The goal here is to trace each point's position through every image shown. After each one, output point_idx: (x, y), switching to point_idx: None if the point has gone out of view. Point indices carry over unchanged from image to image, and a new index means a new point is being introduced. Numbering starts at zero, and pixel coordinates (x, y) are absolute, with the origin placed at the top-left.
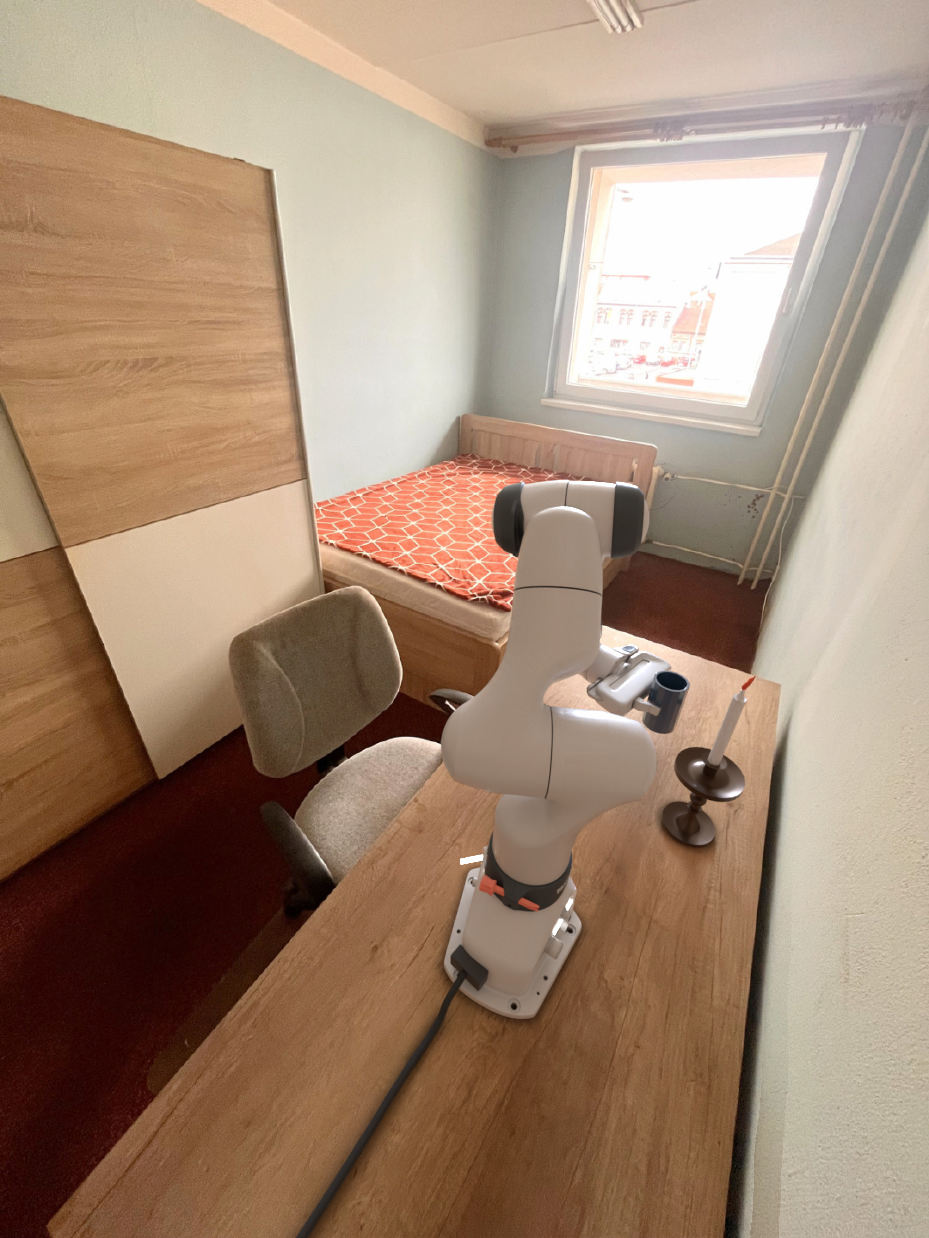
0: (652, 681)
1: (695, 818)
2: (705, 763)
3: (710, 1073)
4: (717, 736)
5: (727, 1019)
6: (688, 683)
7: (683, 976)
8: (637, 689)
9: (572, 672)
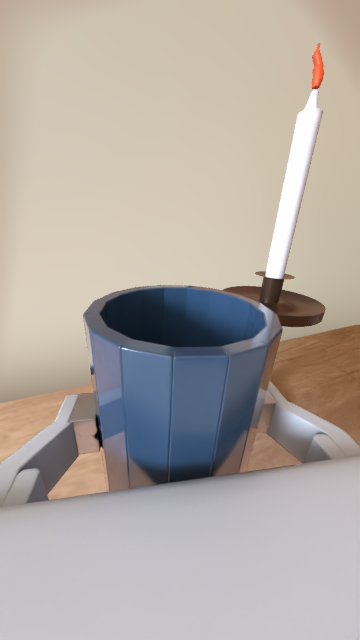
0: (149, 490)
1: None
2: (292, 277)
3: (338, 334)
4: (295, 222)
5: (314, 336)
6: (137, 288)
7: (334, 351)
8: (346, 487)
9: None
